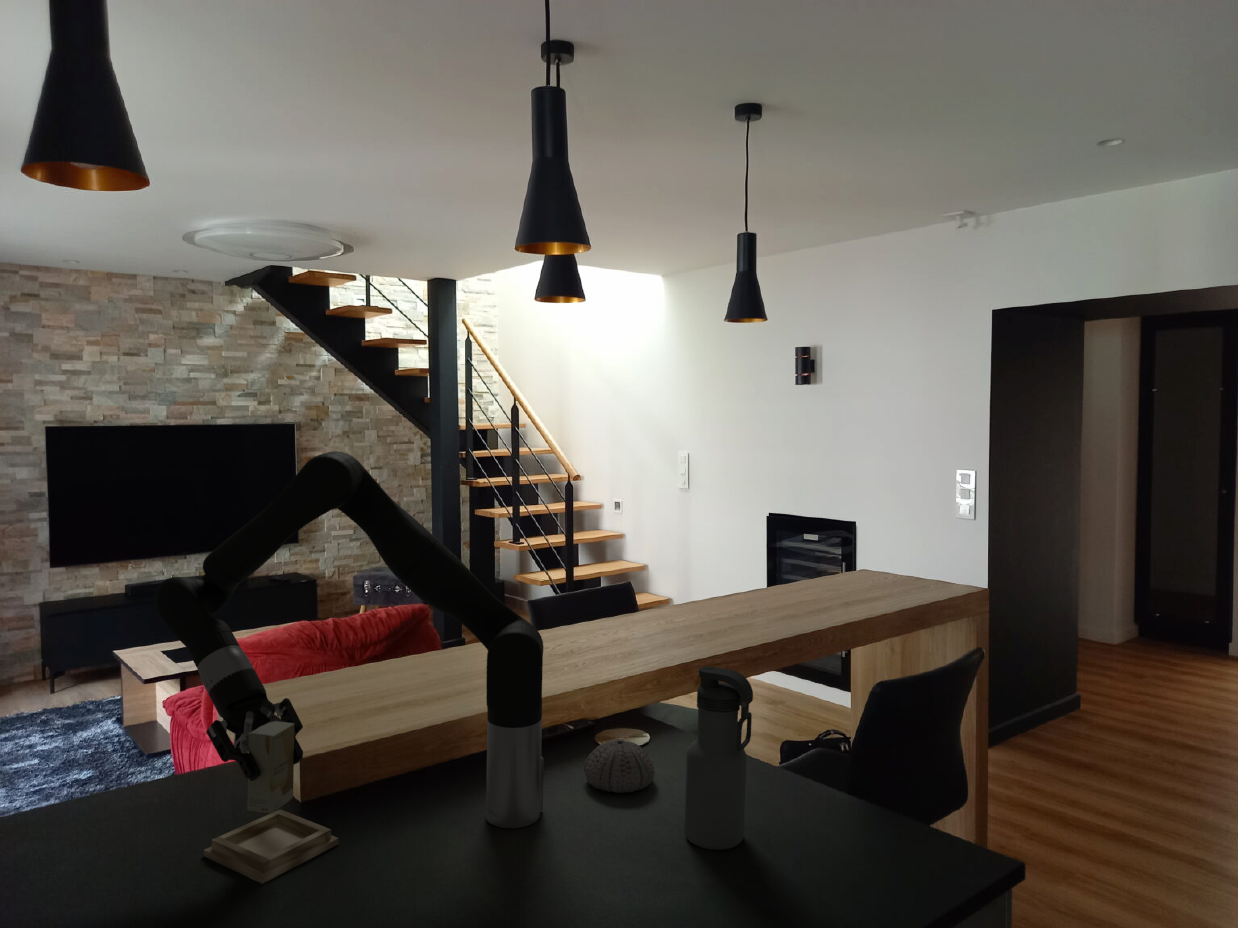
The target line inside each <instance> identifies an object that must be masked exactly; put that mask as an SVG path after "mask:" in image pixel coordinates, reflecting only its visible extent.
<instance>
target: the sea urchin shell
mask: <svg viewBox="0 0 1238 928" xmlns="http://www.w3.org/2000/svg"><path fill="white" fill-rule="evenodd" d="M583 766H584V767H583V771H584V776H585V777H586V781H587V782H588V783H589V785H591V786H592V787H593V788H595V789H597V790H603V791H604V792H609V793H610V792H614V793H616V794H617V793H619V794H622V793H631V792H632V793H634V792H635V791H641V790H644V789H645V788H646V787H647V788H648V786H649V785H650V784H651V782H652V781H653V780H654V777H655V773H656V772H655V767H654V763H653V760H651V757H650V756H649V754H648V752H646V751H645V749H643V748H642V746H640V745H639V744H637V743H635V742H634V741H630V740H624V739H621V738H615V739H611V740H609V741H605V742H604V743H601V744H599V745H598V746H597V747H596V748H595V749H593V750H592V751H591V753H590V754H589V755H588V757H587V758H586V760H585V761H584V764H583Z"/></svg>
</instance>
